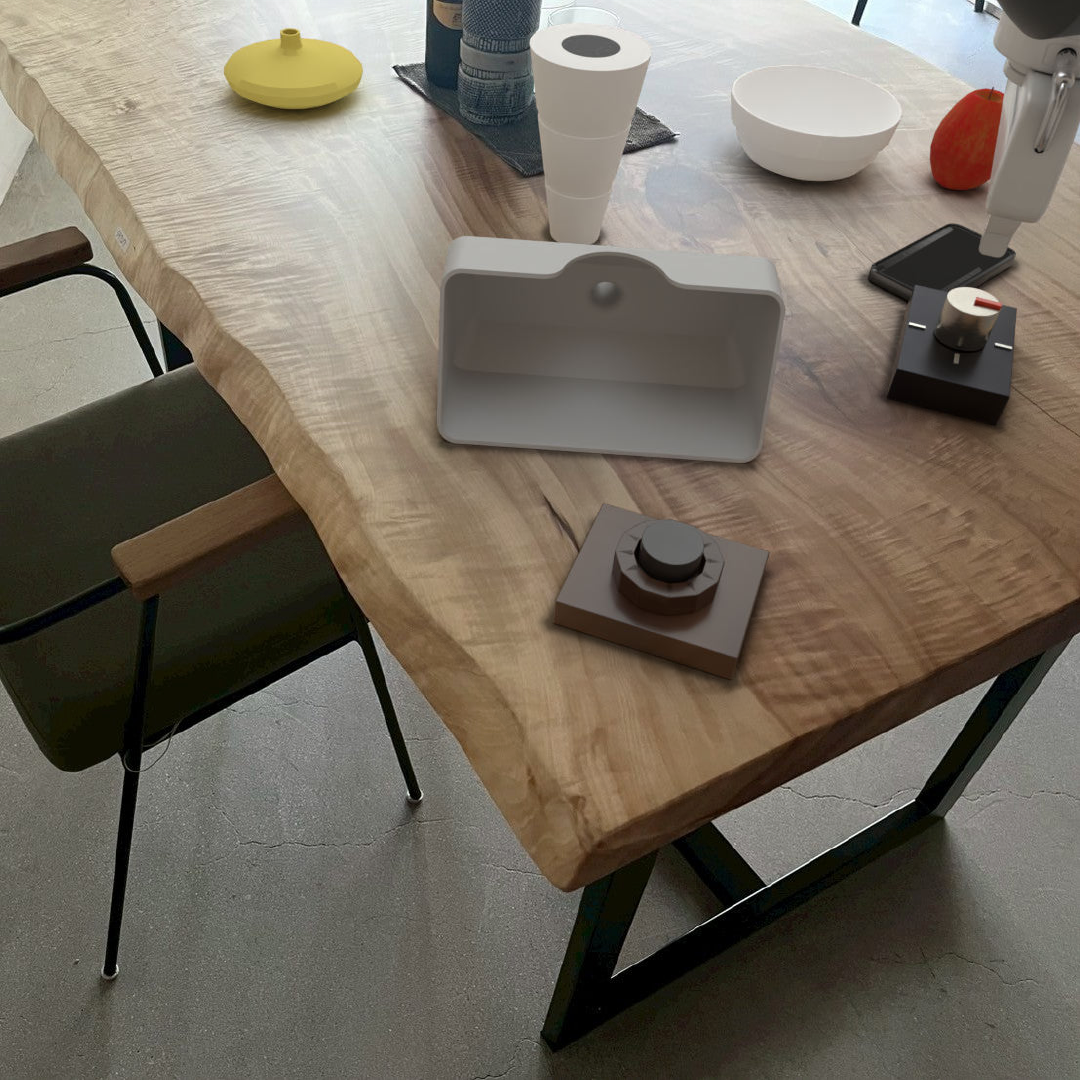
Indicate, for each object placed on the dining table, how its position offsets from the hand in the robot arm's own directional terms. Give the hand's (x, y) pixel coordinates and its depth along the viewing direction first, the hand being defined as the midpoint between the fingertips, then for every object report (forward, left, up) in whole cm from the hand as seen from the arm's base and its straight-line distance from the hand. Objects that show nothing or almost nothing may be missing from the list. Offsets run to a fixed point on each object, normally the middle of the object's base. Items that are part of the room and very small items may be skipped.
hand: (994, 222), depth 78 cm
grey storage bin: (+26, +12, -16) cm, 32 cm away
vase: (+76, -27, -16) cm, 82 cm away
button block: (+15, +32, -15) cm, 38 cm away
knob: (-1, -4, -12) cm, 13 cm away
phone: (+1, -20, -15) cm, 25 cm away
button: (+15, +32, -12) cm, 37 cm away
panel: (-1, -4, -15) cm, 16 cm away
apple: (+1, -40, -16) cm, 43 cm away
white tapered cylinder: (+36, -11, -16) cm, 41 cm away
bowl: (+18, -37, -16) cm, 44 cm away
